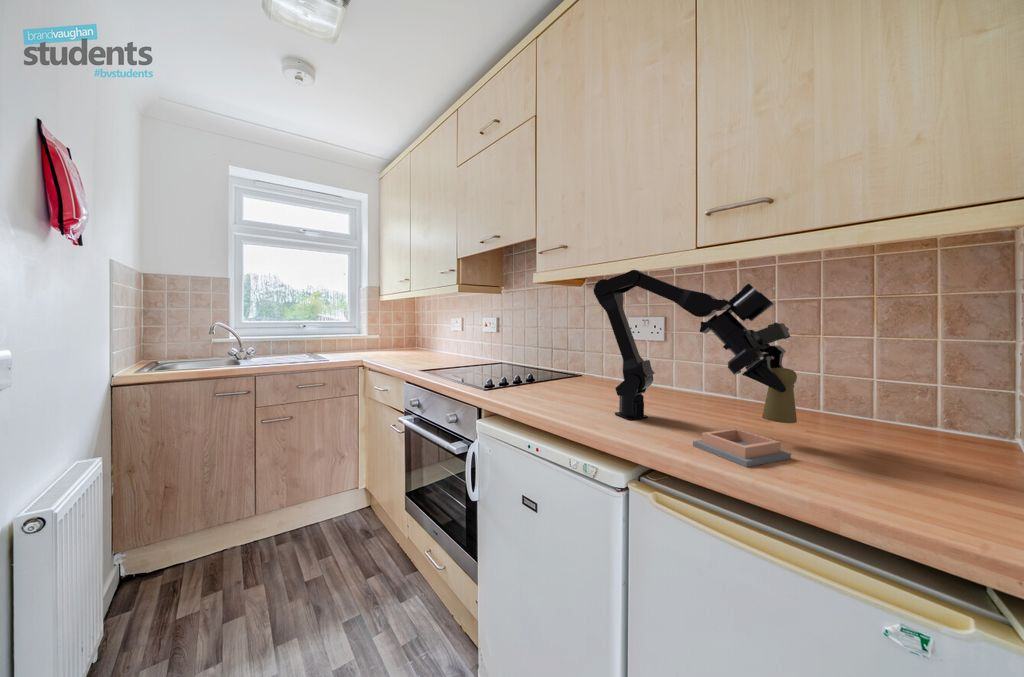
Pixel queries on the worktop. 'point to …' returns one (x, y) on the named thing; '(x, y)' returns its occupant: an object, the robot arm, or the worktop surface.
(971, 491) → the worktop surface
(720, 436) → the stand
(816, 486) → the worktop surface
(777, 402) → the olive pepper mill
